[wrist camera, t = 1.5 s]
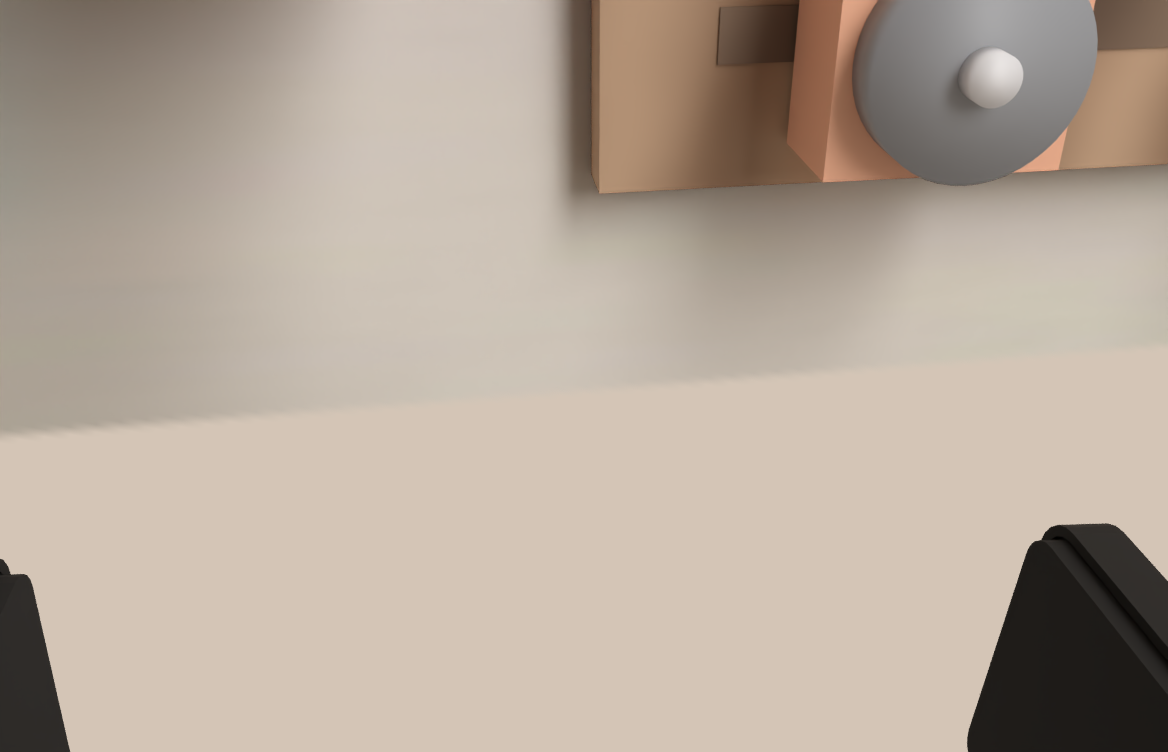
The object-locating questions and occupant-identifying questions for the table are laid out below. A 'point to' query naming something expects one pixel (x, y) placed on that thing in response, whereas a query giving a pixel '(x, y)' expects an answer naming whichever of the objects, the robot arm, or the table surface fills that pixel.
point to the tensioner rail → (764, 81)
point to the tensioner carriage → (938, 86)
